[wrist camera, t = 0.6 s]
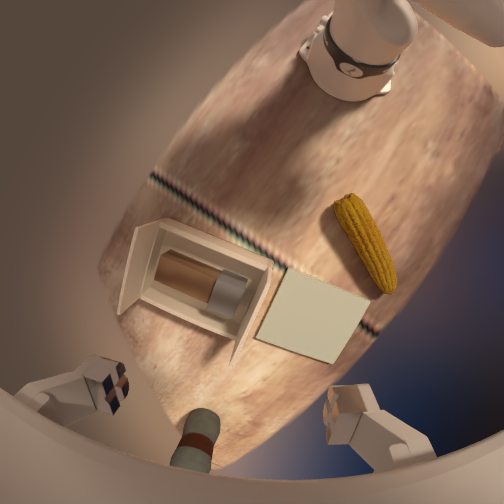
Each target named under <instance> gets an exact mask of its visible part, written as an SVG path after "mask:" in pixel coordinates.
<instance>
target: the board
mask: <svg viewBox="0 0 504 504" xmlns="http://www.w3.org/2000/svg"><path fill="white" fill-rule="evenodd" d="M370 302H371V301H370V300H369V299H367V298H364V297H362V296H359V295H357V294H355V293H352V292H350V291H347V290H345V289H342V288H340V287H337V286H335V285H333V284H330V283H328V282H325V281H323V280H320V279H318V278H315V277H313V276H311V275H308V274H306V273H303V272H301V271H298V270H296V269H293V268H291V267H288V269H287V271H286V273H285V275H284V277H283V279H282V282H281V284H280V286H279V288H278V290H277V292H276V295H275V297H274V299H273V301H272V303H271V305H270V307H269V310H268V312H267V314H266V316H265V318H264V320H263V322H262V324H261V326H260V328H259V330H258V332H257V334H256V338H257V339H260V340H263V341H265V342H268V343H271V344H274V345H276V346H279V347H282V348H285V349H288V350H291V351H294V352H297V353H300V354H303V355H306V356H309V357H312V358H315V359H318V360H321V361H324V362H328V363H331V364H333V363H334V362H335V360H336V359H337V357H338V356H339V354H340V353H341V351H342V350H343V348H344V346H345V345H346V343H347V342H348V340H349V338H350V337H351V335H352V333H353V332H354V330H355V328H356V327H357V325H358V323H359V322H360V320H361V318H362V316H363V315H364V313H365V311H366V309H367V307H368V306H369V304H370Z"/></svg>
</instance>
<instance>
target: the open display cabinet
mask: <svg viewBox="0 0 504 504" xmlns="http://www.w3.org/2000/svg"><path fill="white" fill-rule="evenodd" d="M170 249H172V250H174V251H176V252H179V253H181V254H183V255H186V256H188V257H190V258H193V259H195V260H197V261H200V262H202V263H204V264H207V265H209V266H212V267H214V268H216V269H219V270H221V271H223V269H225V270H228V271H230V272H233V273H235V274H237V275H240V276H242V277H245V278H247V279H248V282H247V285H246V288H245V291H244V293H243V296H242V298H241V300H240V303H239V305H238V308H237V310H236V312H235V315H234V317H233V319H230V318H228V317H225V316H223V315H220V314H218V313H215V312H213V311H211V310H208V309H206V307H207V305H208V304H207V303H205V302H202V301H200V300H198V299H196V298H193V297H191V296H189V295H186V294H184V293H182V292H180V291H177V290H175V289H173V288H171V287H168V286H166V285H164V284H162V283H160V282H158V281H155V280H154V277H155V273H156V270H157V266H158V262H159V259H160V255H162V254H163V253H165V252H167V251H168V250H170ZM273 262H274V260H271V259H269V258H266V257H264V256H262V255H259V254H257V253H254V252H252V251H249V250H247V249H244V248H242V247H240V246H237V245H235V244H232V243H230V242H227V241H225V240H222V239H220V238H217V237H215V236H213V235H210V234H208V233H205V232H203V231H200V230H198V229H195V228H193V227H191V226H188V225H186V224H183V223H181V222H178V221H176V220H173V219H171V218H168V217H164V218H160V219H157V220H156V221H153V222H150V223H147V224H143V225H140V226H137V227H135V231H134V234H133V238H132V242H131V246H130V250H129V254H128V259H127V263H126V268H125V272H124V277H123V282H122V287H121V292H120V297H119V303H118V308H117V315H121V314H122V313H123V312H124V311H125V310H126V309H127V308H129V307H130V306H131V305H132V304H133V303H134V302H136V301H137V300H138V299H141V300H143V301H145V302H148V303H150V304H152V305H154V306H156V307H158V308H160V309H162V310H164V311H166V312H169V313H171V314H173V315H175V316H177V317H180V318H182V319H184V320H186V321H189V322H191V323H193V324H196V325H198V326H200V327H203V328H205V329H207V330H210V331H212V332H215V333H217V334H219V335H222V336H224V337H227V338H229V339H232V340H235V345H234V349H233V352H232V356H231V360H230V363H229V366H233V364H234V362H235V360H236V358H237V356H238V354H239V352H240V350H241V348H242V346H243V343H244V341H245V339H246V337H247V335H248V333H249V331H250V329H251V326H252V324H253V322H254V320H255V318H256V316H257V314H258V311H259V309H260V307H261V305H262V303H263V300H264V298H265V296H266V294H267V292H268V289H269V287H270V285H271V277H272V270H273Z"/></svg>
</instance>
